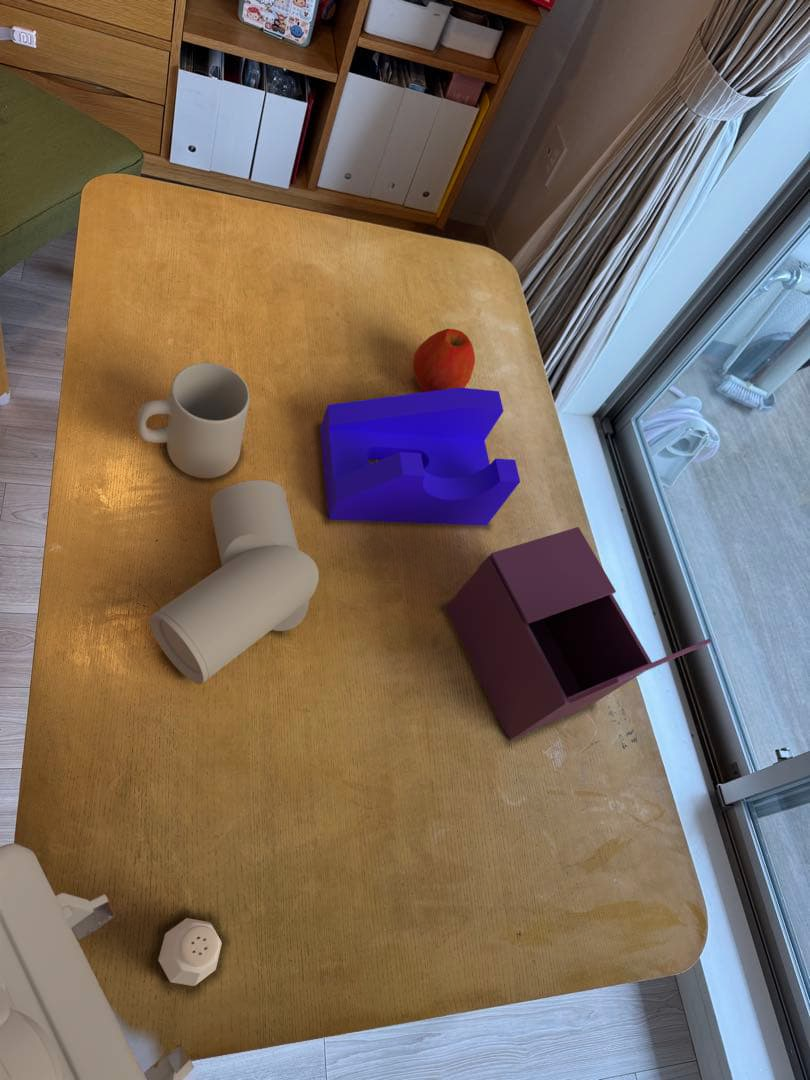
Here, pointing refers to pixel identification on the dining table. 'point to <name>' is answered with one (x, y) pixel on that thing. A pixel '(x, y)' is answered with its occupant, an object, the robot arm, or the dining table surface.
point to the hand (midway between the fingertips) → (140, 983)
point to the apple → (444, 361)
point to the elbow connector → (239, 584)
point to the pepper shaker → (190, 952)
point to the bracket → (415, 458)
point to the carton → (544, 630)
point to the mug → (201, 419)
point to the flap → (639, 670)
